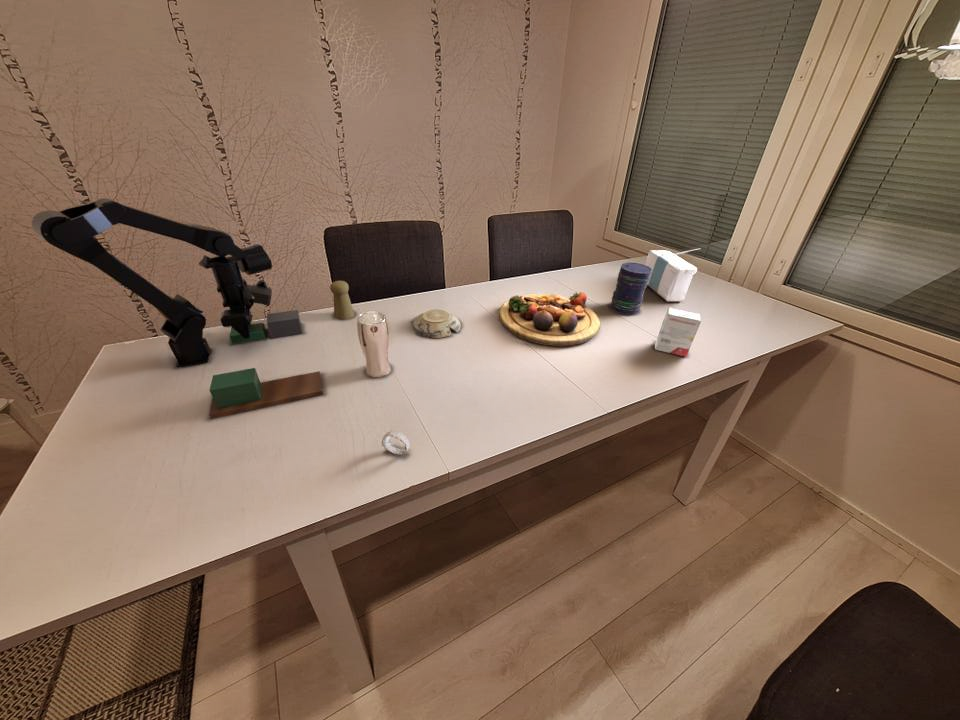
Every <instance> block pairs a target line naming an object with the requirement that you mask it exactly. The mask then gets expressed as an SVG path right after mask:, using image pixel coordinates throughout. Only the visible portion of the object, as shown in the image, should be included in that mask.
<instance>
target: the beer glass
mask: <svg viewBox="0 0 960 720" xmlns="http://www.w3.org/2000/svg"><path fill="white" fill-rule="evenodd" d="M356 329H357V336H358V342H359V344H360V348H361V350H362V352H363V356H364V359H365V363H366V364H365V373H366V375H367V376H369V377H371V378H383V377H386V376H387V375H389V373H390V372H391V371H392V368H391V364H390V362H389V345H390V333H389V332H390V331H389V327H388V321H387V315H386V314H385V313H384V312H380V311H376V310H375V311H373V310H371V311H365V312H363V313H360V314H358V315H357V317H356Z"/></svg>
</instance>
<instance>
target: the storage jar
mask: <svg viewBox="0 0 960 720" xmlns="http://www.w3.org/2000/svg"><path fill="white" fill-rule="evenodd" d="M651 271H652V269H651V268H650V267H648V266H646V265H645V264H643V263H638V262H624V263H621V265H620V269H619V272H618V274H617V278H616V286H615V290H614V291H613V293H612V296H611V302H610V305H609V308H610V309H611V310H612V311H613V312H614V313H615V312H616V313H617V314H620V315H625V316H635V315H636V314H639V312H640V308H641V306H642V304H643V301H644V294H645V290H646V288H648V282H649V279H650V274H651Z"/></svg>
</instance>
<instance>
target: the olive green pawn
mask: <svg viewBox="0 0 960 720" xmlns="http://www.w3.org/2000/svg"><path fill="white" fill-rule="evenodd" d="M329 289H330V291H331V294H332V296H333V297H332V298H333V316H334V318H335V319H336V320H341V321H343V320H344V321H345V320H350V319H352V318H353V317H354V316H355V312H354V308H353V305H352V302H351V298H350V296H349V293H348V292H349V289H350V287H349V283H347V281H345V280H335V281H333V282H331V284H330V286H329Z"/></svg>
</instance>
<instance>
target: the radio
mask: <svg viewBox="0 0 960 720" xmlns="http://www.w3.org/2000/svg"><path fill="white" fill-rule="evenodd" d="M696 250H702V248H701V247H698V248H694V249H690V250H685V251H680V252H676V253H673V252H672V251H670V250H663V249H662V250H661V249H659V250H657V249H655V250H654V249H653V250H651V249H650V250H649V251H648V253H647V257H646V259H645V263H644V265H646V266H648V267H650V268H651V269H652V271H651V274H650V279H649V282H648V285H647V287H649V288H651V290H653V291H654V292H655V293H657V295H659V296H660V297H661V298H663V300H665V301H666V302H667V303H668V302H683V301H684V300H685V298H686V294H687V292H688V290H689V287H690V284H691V282H692V279H693V277H694V275H695V274H696V273H697V271H698V268H697V267H696V266H694V265H693V264H691V263H689V262H688V261H686V260H684V259H683V258H681V257H679V256H678V255H681V254H686V253H689V252H693V251H696Z"/></svg>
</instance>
